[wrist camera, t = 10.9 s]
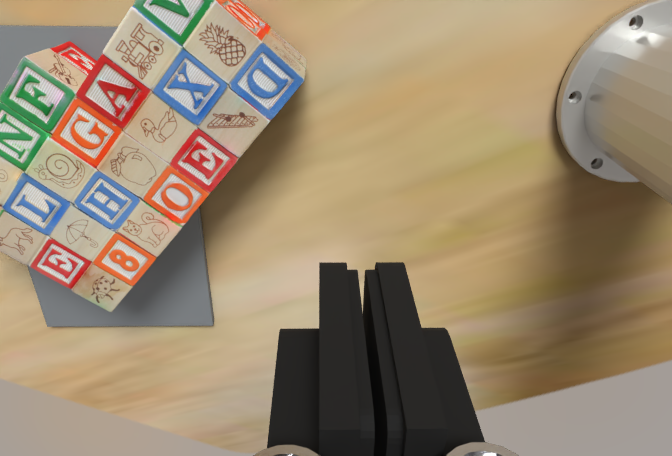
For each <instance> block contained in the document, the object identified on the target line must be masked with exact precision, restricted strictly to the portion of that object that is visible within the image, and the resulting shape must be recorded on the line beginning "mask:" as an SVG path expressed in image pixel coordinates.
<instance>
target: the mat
mask: <svg viewBox="0 0 672 456" xmlns="http://www.w3.org/2000/svg"><path fill="white" fill-rule="evenodd" d="M117 28H118V27H96V26H12V25H0V96H1V94H2V92H3V90H4V89H5V87H6V85H7V84H8V82H9V80H10V78H11V77H12V75H13V73H14V72H15V70H16V68H17V66H18V65H19V63H20V61H21V59H22V58H23V57H25V56H27V55H30V54H33V53H36V52H39V51H42V50H45V49H50V48H53V47H56V46H58V45H61V44H63V43H66V42H68V41H70V42H72V43H74V44H75V45H76V46H78V47H79V48H80V49H82V50H83V51H84V52H86V53H87V54H88V55H90V56H91V57H92V58H94V59H95V60H96V61H97V60H98V59H99V57H100V56H101V55H102V53H103V50H104V48H105V47H106V45H107V43H108V42H109V40H110V39H111V37H112V36H113V34H114V32H115V31H116V29H117ZM27 266H28V269H29V272H30V275H31V278H32V281H33V284H34V287H35V290H36V293H37V296H38V299H39V302H40V305H41V309H42V312H43V315H44V318H45V321H46V324H47V327H58V326H213V323H214V316H213V308H212V300H211V292H210V284H209V277H208V269H207V261H206V253H205V245H204V237H203V229H202V222H201V214H200V206H199V208H198V209H197V210H196V211H195V212H194V213H193V215H192V216H191V217H190V218H189V220H188V221H187V222H186V224H185V225H184V226H183V227H182V229H181V230H180V231H179V232H178V234H177V235H176V236H175V237H174V238H173V239H172V241H171V242H170V243H169V244H168V245H167V247H166V248H165V249H164V250H163V251H162V253H161V254H160V255H159V256H158V257H157V258H156V260H155V261H154V262H153V264H152V265H151V266H150V267H149V268H148V270H147V271H146V272H145V273H144V274H143V276H142V277H141V278H140V279H139V280H138V282H137V283H136V284H135V285H134V286H133V287H132V289H131V290H130V291H129V292H128V293H127V295H126V296H125V297H124V298H123V299H122V300H121V302H120V303H119V304H118V305H117V306H116V308H115V309H114V310H113V311H112V312H109V311H107V310H105V309H103V308H101V307H99V306H98V305H96V304H94V303H92V302H90V301H88V300H86V299H85V298H83V297H81V296H80V295H78V294H76V293H74V292H73V291H72V289H70V288H67V287H65V286H63V285H62V284H60V283H58V282H56V281H54V280H52V279H51V278H49V277H47V276H45V275H43V274H42V273H40V272H38V271H36V270H35V269H33V268H31V267H30V266H29V265H27Z"/></svg>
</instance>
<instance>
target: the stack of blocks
mask: <svg viewBox="0 0 672 456" xmlns="http://www.w3.org/2000/svg"><path fill="white" fill-rule="evenodd" d="M306 66H307V60H306V59H305V58H304V57H303V56H302V55H301V54H300V53H299V52H298V51H297V50H296V49H295V48H294V47H292V46H291V45H290V44H289V43H288V42H286V41H285V40H284V39H283V38H282V37H281V36H279V35H278V34H277V33H276V32H275V31H273V30H272V29H271V28H270V26H269V25H268V24H267V23H266V22H264V21H263V20H262V19H261V18H260V17H259V16H258V15H256V14H255V13H254V12H253V11H252V10H251V9H249V8H248V7H247V6H246V5H245V4H244V3H243V2H241V1H240V0H135V2H134V5H133V6H132V7H131V8H130V10H129V11H128V13H127V14H126V16H125V17H124V19H123V20H122V22H121V23H120V25H119V26H118V28H117V29H116V31H115V32H114V34H113V36H112V37H111V39H110V40H109V42H108V43H107V45H106V47H105V48H104V50H103V53H102V55H101V56H100V57H99V59H98V60H97V61H96V60H95V59H94V58H92V57H91V56H90V55H88V54H87V53H86V52H84V51H83V50H82V49H80V48H79V47H78V46H76V45H75V44H74V43H72V42H70V41H68V42H66V43H63V44H61V45H58V46H56V47H53V48H50V49H45V50H42V51H39V52H36V53H33V54H30V55H27V56H25V57H23V58H22V59H21V61H20V63H19V65H18V66H17V68H16V70H15V72H14V73H13V75H12V77H11V78H10V80H9V82H8V84H7V85H6V87H5V89H4V90H3V92H2V94H1V96H0V252H3V253H4V254H6V255H8V256H10V257H11V258H13V259H15V260H17V261H19V262H20V263H22V264H24V265H29V266H30V267H31V268H33V269H35V270H36V271H38V272H40V273H42V274H43V275H45V276H47V277H49V278H51V279H52V280H54V281H56V282H58V283H60V284H62V285H63V286H65V287H67V288H70V289H72V291H73V292H74V293H76V294H78V295H80V296H81V297H83V298H85V299H86V300H88V301H90V302H92V303H94V304H96V305H98V306H99V307H101V308H103V309H105V310H107V311H109V312H112V311H113V310H114V309H115V308H116V306H117V305H118V304H119V303H120V302H121V300H122V299H123V298H124V297H125V296H126V295H127V293H128V292H129V291H130V290H131V289H132V287H133V286H134V285H135V284H136V283H137V282H138V280H139V279H140V278H141V277H142V276H143V274H144V273H145V272H146V271H147V270H148V268H149V267H150V266H151V265H152V264H153V262H154V261H155V260H156V258H157V257H158V256H159V255H160V254H161V253H162V251H163V250H164V249H165V248H166V247H167V245H168V244H169V243H170V242H171V241H172V239H173V238H174V237H175V236H176V235H177V234H178V232H179V231H180V230H181V229H182V227H183V226H184V225H185V224H186V222H187V221H188V220H189V218H190V217H191V216H192V215H193V213H194V212H195V211H196V210H197V209H198V208H199V206H200V205H201V204H202V203H203V201H204V200H205V199H206V198H207V197H208V196H209V194H210V193H211V192H212V191H213V190H214V189H215V187H216V186H217V185H218V184H219V183H220V181H221V180H222V179H223V178H224V177H225V176H226V174H227V173H228V172H229V171H230V169H231V168H232V167H233V166H234V165H235V163H236V162H237V161H238V159H239V158H240V157H241V156H242V155H243V154H244V153H245V151H246V150H247V149H248V148H249V146H250V145H251V144H252V143H253V142H254V140H255V139H256V138H257V137H258V136H259V134H260V133H261V132H262V131H263V130H264V128H265V127H266V126H267V125H268V124H269V122H270V121H271V120H272V119H273V118H274V117H275V115H276V114H277V113H278V112H279V111H280V110H281V109H282V107H283V106H284V105H285V104H286V102H287V101H288V100H289V99H290V98H291V96H292V95H293V94H294V93H295V92H296V90H297V89H298V88H299V87H300V86H301V84H302V83H303V81H304V79H305V72H306V70H305V69H306Z"/></svg>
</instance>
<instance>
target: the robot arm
mask: <svg viewBox="0 0 672 456" xmlns="http://www.w3.org/2000/svg"><path fill="white" fill-rule="evenodd" d="M631 19H632V22H631V23H630V24H629V22H630V20H631ZM571 93H573V95H572V96H571V97H569V96H570V94H571ZM556 119H557V128H558V132H559V135H560V138H561V141H562V144H563V146H564V147H565V149H566V150H567V152H568V153H569V155H570V156H571V157H572V158H573V159H574V160H575V161H576V162H577V163H578V164H579V165H580V166H581V167H583V168H584V169H585V170H587V171H588V172H589V173H591V174H593V175H596V176H598V177H600V178H603V179H605V180H610V181H616V182H640V181H641V182H642V183H643V184H645V185H646V186H648V187H649V188H650V189H652V190H653V191H654V192H656V193H657V194H658V195H660V196H661V197H662V198H664V199H665V200H666V201H668V202H669V203H671V204H672V0H647V1H645V2H642V3H640V4H637V5H634V6H632V7H630V8H628V9H626V10H624V11H623V12H621V13H619V14H618V15H616V16H614V17H612V18H611V19H610V20H609V21H607V22H606V23H605V24H604V25H603V26H601V27H600V28H599V29H598V30H596V31H595V32H594V33H593V35H592V36H591V37H590V38H589V39H588V40H587V41H586V42H585V43H584V44H583V46H582V47H581V48H580V50H579V51H578V53H577V54H576V56H575V57H574V59H573V60H572V62H571V63H570V65H569V67H568V69H567V72H566V74H565V76H564V78H563V80H562V83H561V87H560V91H559V94H558V98H557V109H556ZM253 456H518V455H517V454H516V453H514V452H511V451H510V450H508V449H506V448H504V447H502V446H498V445H494V444H490V443H486V442H485V441H484V438H483V435H482V432H481V429H480V426H479V423H478V420H477V417H476V414H475V411H474V408H473V405H472V402H471V399H470V395H469V392H468V389H467V386H466V383H465V380H464V377H463V374H462V371H461V368H460V365H459V362H458V359H457V356H456V353H455V350H454V347H453V344H452V341H451V338H450V336H449V333H448V331H447V330H446V329H445V328H421V324H420V321H419V317H418V313H417V309H416V306H415V302H414V298H413V294H412V291H411V287H410V283H409V279H408V275H407V272H406V268H405V265H404V263H403V262H401V263H376V264H375V270H365V281H364V301H363V314H362V305H361V297H360V288H359V279H358V271H357V270H347V263H320V285H319V329H280V332H279V340H278V350H277V359H276V369H275V378H274V388H273V397H272V407H271V416H270V425H269V435H268V444H267V449H263V450H262V451H260V452H258V453H257V454H255V455H253Z"/></svg>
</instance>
